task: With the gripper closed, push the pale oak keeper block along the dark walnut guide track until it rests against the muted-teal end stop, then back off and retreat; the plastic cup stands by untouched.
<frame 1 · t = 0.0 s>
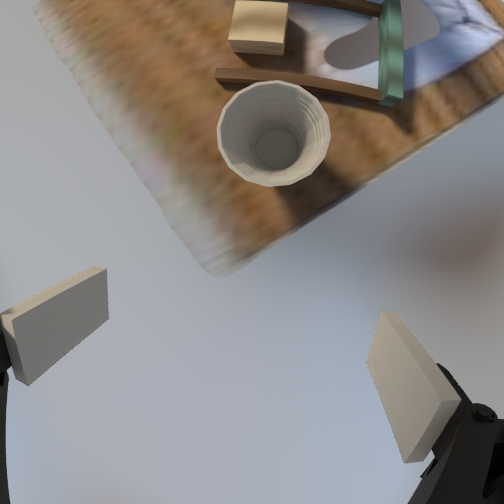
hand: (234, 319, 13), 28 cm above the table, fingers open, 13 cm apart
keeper: (261, 34, 35), on the table
guide track: (303, 38, 34), on the table
plastic cup: (276, 146, 38), on the table
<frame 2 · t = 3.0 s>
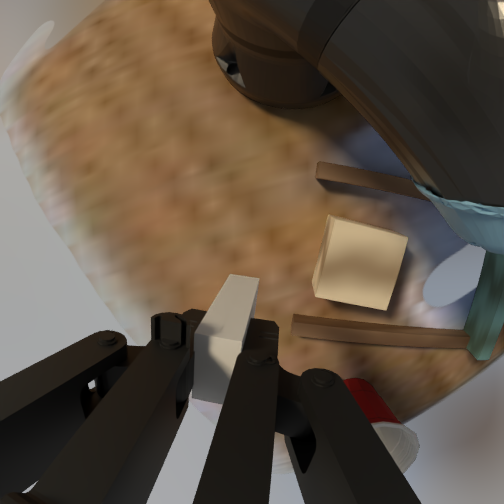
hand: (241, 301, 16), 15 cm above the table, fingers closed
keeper: (352, 255, 30), on the table
guide track: (405, 264, 29), on the table
plastic cup: (349, 393, 33), on the table
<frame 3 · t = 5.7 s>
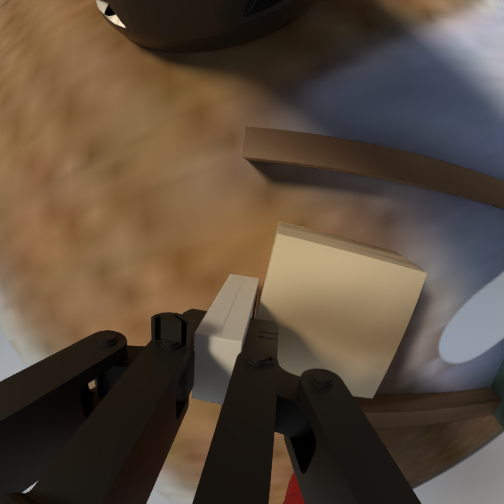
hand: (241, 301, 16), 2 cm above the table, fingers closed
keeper: (322, 294, 17), on the table, touching gripper
guide track: (413, 304, 17), on the table
plastic cup: (322, 473, 21), on the table
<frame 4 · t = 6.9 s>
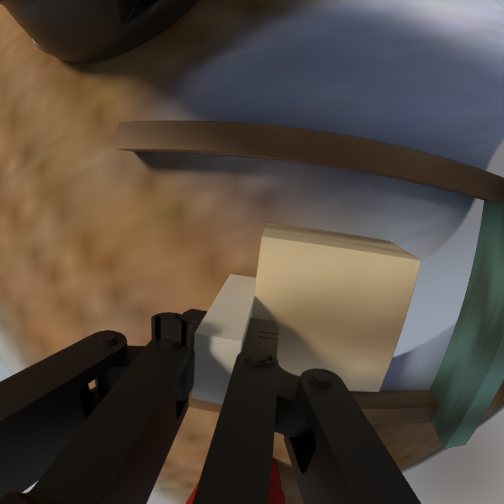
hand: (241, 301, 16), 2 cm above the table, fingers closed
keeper: (320, 291, 17), on the table, touching gripper
guide track: (305, 289, 17), on the table
plastic cup: (244, 464, 21), on the table
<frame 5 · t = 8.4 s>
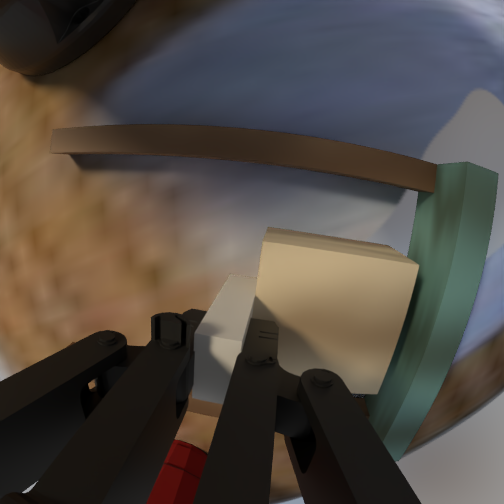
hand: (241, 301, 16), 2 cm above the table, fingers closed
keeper: (319, 295, 17), on the table
guide track: (213, 283, 18), on the table
plastic cup: (180, 455, 22), on the table
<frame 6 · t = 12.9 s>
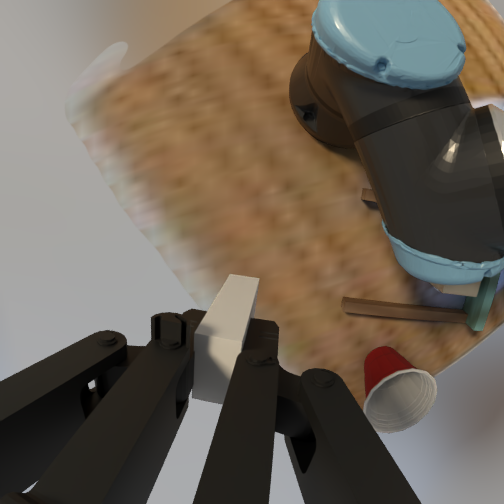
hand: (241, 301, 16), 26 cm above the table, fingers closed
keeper: (452, 264, 40), on the table
guide track: (420, 260, 40), on the table
plastic cup: (380, 359, 44), on the table
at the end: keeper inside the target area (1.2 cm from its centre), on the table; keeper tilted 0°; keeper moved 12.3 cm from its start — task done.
